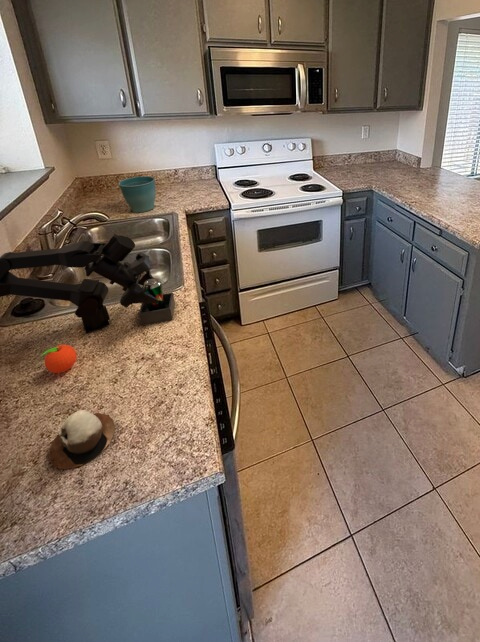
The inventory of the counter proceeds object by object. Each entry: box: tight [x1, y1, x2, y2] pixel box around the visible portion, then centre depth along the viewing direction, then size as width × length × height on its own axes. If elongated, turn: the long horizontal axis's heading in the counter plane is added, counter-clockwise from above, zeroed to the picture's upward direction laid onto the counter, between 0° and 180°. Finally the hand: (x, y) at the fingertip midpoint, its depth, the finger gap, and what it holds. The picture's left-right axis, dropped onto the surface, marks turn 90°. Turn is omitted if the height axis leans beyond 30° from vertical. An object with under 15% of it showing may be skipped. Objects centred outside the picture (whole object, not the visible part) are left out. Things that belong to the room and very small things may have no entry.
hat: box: [48, 409, 116, 470], centre depth 77 cm, size 12×10×10 cm
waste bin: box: [138, 292, 176, 326], centre depth 117 cm, size 9×9×4 cm
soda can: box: [144, 277, 166, 311], centre depth 115 cm, size 5×5×12 cm
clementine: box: [39, 344, 78, 374], centre depth 95 cm, size 8×7×7 cm
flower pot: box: [118, 175, 157, 213], centre depth 201 cm, size 18×18×17 cm
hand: (159, 295), depth 115 cm, fingers open, 7 cm apart
